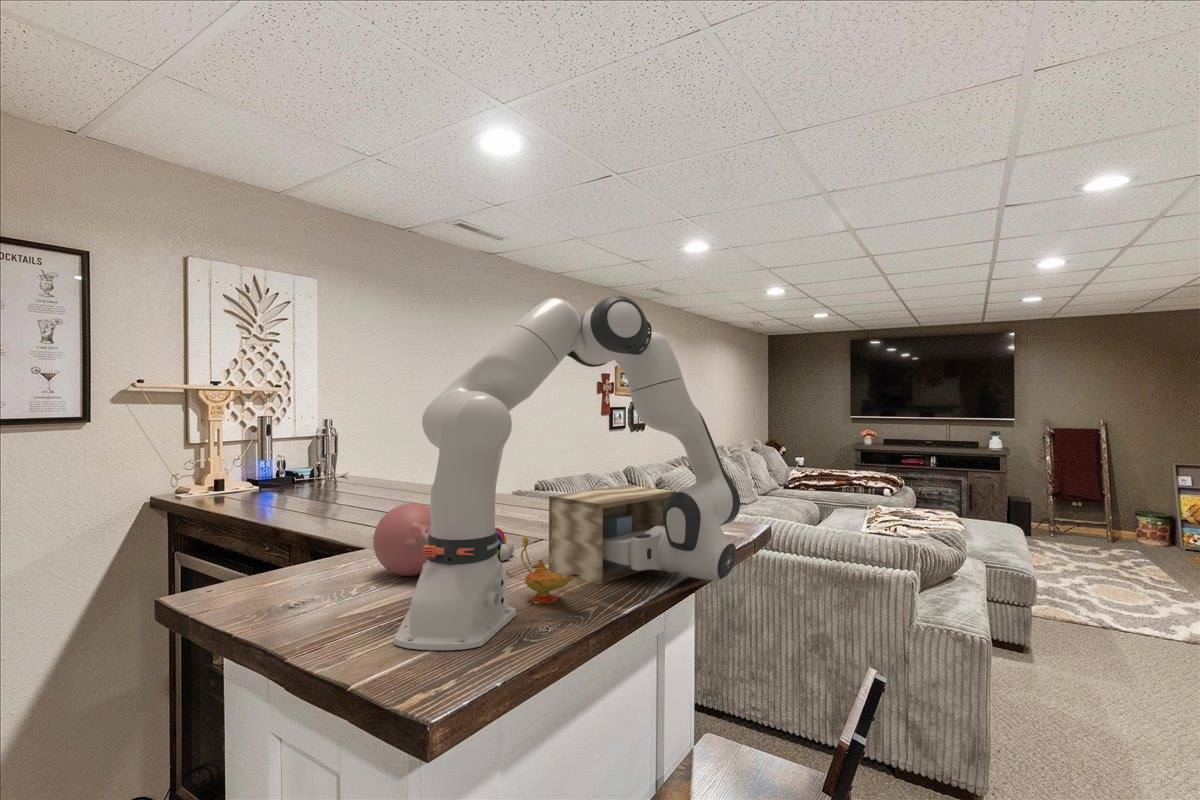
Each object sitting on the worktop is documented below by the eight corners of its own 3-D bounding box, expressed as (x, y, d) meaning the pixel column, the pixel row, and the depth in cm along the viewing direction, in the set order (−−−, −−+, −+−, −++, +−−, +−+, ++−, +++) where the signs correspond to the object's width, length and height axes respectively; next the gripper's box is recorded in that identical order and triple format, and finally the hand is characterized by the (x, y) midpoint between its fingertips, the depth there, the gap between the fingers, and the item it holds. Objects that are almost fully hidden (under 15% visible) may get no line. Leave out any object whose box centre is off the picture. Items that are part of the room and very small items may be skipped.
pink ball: (386, 595, 113) (387, 515, 113) (366, 571, 130) (367, 501, 130) (464, 583, 121) (464, 508, 121) (435, 561, 138) (436, 496, 138)
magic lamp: (564, 619, 101) (564, 554, 101) (506, 594, 114) (506, 537, 114) (594, 609, 106) (594, 548, 106) (535, 587, 119) (535, 532, 119)
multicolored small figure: (516, 554, 146) (516, 525, 146) (506, 564, 136) (506, 533, 136) (482, 553, 147) (483, 524, 147) (470, 563, 137) (470, 532, 137)
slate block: (631, 565, 132) (631, 516, 132) (616, 569, 128) (617, 519, 128) (615, 561, 135) (615, 513, 135) (600, 565, 132) (600, 516, 132)
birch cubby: (675, 564, 136) (675, 491, 137) (599, 589, 117) (599, 504, 118) (626, 553, 147) (626, 485, 147) (548, 574, 128) (549, 496, 128)
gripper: (690, 525, 131) (642, 517, 140) (631, 540, 116) (581, 530, 125) (690, 554, 130) (641, 544, 140) (631, 572, 116) (581, 560, 125)
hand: (612, 537), depth 132 cm, fingers open, 5 cm apart
